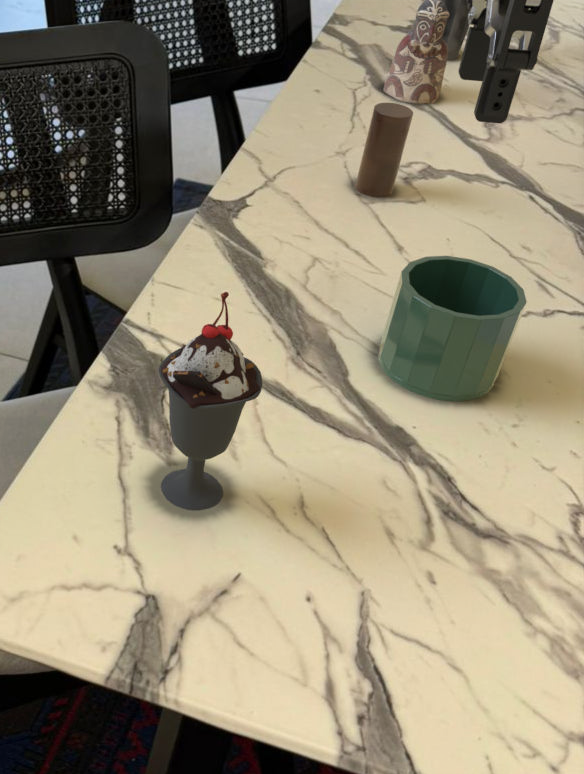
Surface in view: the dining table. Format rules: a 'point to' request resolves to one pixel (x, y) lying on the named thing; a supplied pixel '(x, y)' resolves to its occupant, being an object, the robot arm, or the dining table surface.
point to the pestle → (383, 149)
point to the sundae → (205, 408)
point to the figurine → (420, 57)
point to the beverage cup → (455, 26)
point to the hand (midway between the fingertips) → (479, 98)
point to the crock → (450, 327)
